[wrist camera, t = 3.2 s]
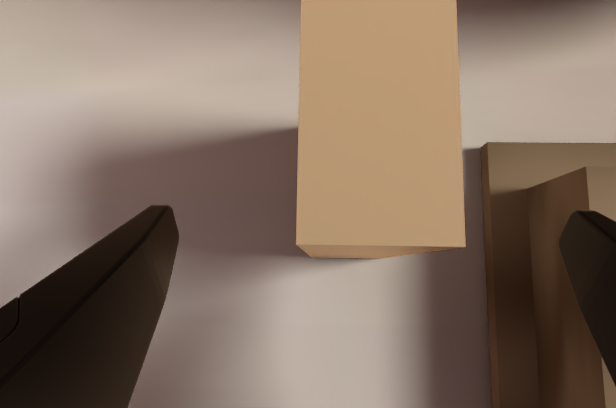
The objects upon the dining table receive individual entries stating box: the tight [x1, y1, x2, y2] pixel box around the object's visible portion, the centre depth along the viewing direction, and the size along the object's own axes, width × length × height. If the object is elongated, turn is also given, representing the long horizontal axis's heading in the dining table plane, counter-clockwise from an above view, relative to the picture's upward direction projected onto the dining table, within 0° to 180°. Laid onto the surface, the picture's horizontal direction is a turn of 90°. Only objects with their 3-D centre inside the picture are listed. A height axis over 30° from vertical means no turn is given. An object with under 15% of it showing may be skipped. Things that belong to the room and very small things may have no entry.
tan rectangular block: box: [296, 0, 466, 259], centre depth 13 cm, size 6×3×11 cm, turn 179°
